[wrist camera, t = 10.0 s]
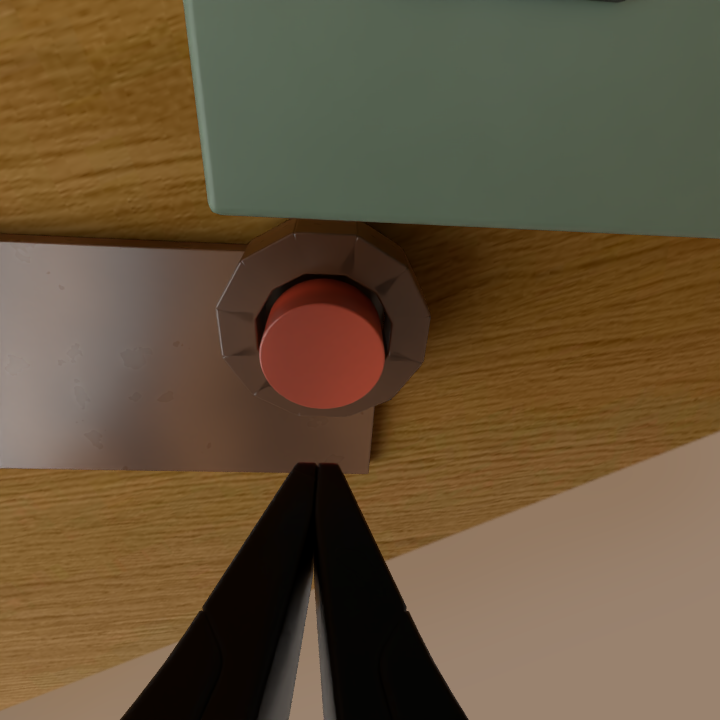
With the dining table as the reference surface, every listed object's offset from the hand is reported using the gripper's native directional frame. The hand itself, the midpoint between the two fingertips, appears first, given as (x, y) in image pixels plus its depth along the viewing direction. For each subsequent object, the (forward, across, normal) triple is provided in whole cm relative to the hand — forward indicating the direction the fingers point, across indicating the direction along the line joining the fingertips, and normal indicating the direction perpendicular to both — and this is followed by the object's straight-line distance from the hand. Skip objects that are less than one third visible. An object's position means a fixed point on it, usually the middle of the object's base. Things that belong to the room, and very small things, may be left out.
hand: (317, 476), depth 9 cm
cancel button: (+6, 0, 0) cm, 6 cm away
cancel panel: (+8, +7, +3) cm, 11 cm away
